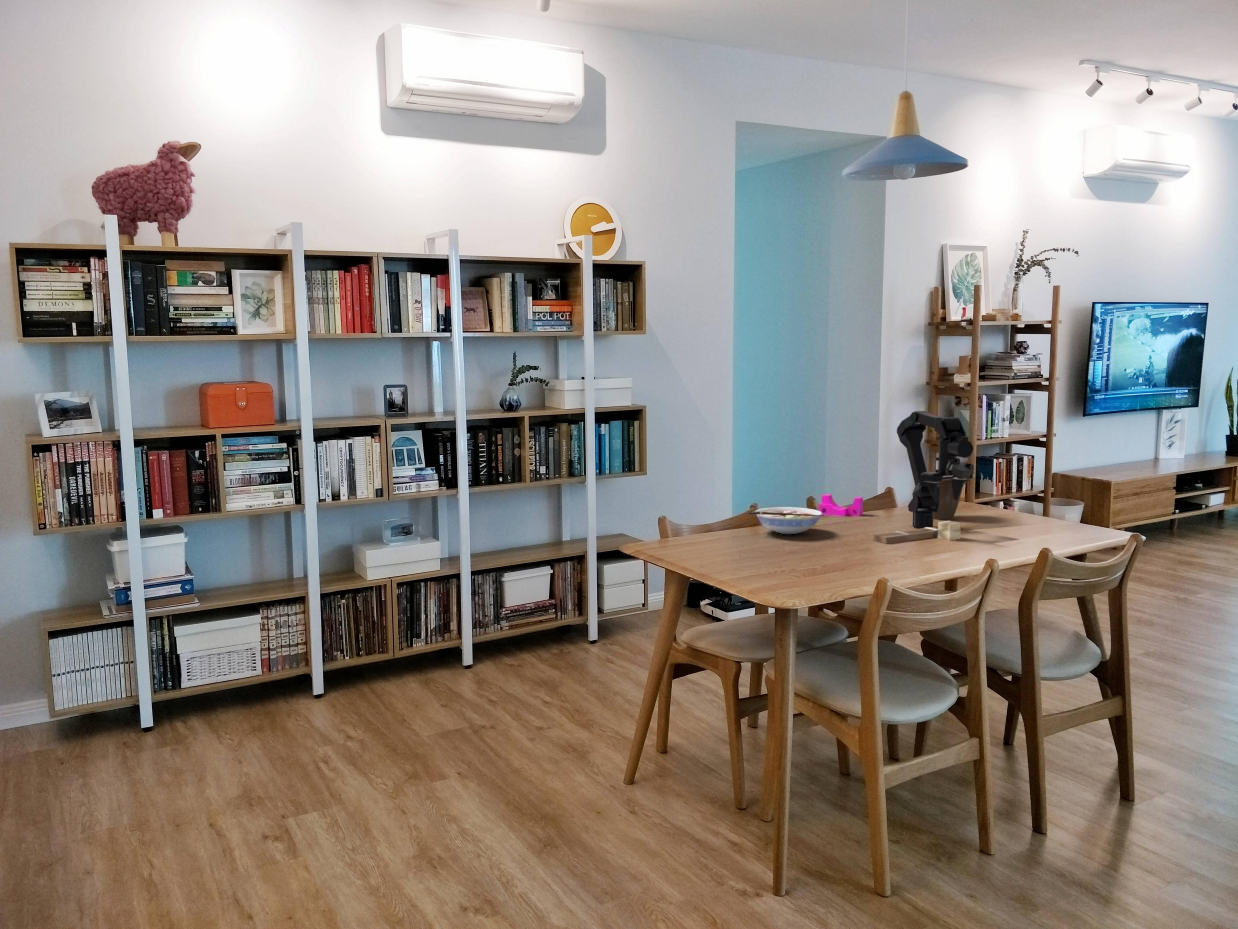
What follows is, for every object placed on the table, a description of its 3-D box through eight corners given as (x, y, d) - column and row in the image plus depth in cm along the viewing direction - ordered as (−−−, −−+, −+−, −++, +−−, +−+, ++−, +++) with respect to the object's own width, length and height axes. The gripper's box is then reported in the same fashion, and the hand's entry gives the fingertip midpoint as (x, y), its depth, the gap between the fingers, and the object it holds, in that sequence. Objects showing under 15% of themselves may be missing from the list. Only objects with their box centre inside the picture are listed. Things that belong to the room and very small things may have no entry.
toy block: (818, 515, 370) (819, 496, 369) (825, 513, 375) (825, 494, 374) (856, 519, 362) (857, 499, 361) (862, 516, 367) (863, 497, 366)
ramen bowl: (827, 529, 342) (827, 506, 341) (822, 541, 320) (823, 516, 319) (756, 526, 349) (756, 503, 348) (747, 537, 327) (747, 513, 326)
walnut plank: (872, 540, 320) (873, 534, 320) (934, 532, 334) (934, 526, 333) (886, 543, 315) (886, 537, 315) (947, 535, 328) (947, 528, 328)
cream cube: (935, 537, 325) (935, 521, 324) (945, 536, 327) (946, 520, 327) (949, 540, 319) (949, 524, 319) (960, 539, 322) (960, 522, 321)
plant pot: (911, 517, 363) (913, 475, 361) (945, 515, 367) (947, 473, 365) (936, 524, 349) (937, 480, 347) (971, 522, 353) (972, 478, 351)
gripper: (946, 458, 312) (945, 506, 314) (986, 455, 321) (985, 502, 323) (920, 455, 322) (919, 502, 324) (960, 452, 331) (958, 497, 333)
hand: (946, 501), depth 325 cm, fingers open, 9 cm apart
